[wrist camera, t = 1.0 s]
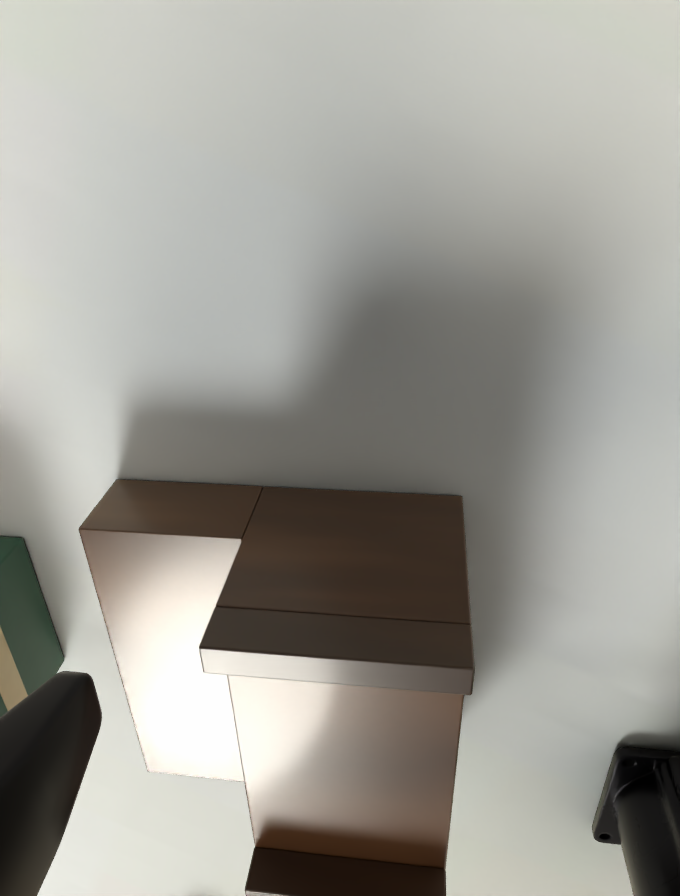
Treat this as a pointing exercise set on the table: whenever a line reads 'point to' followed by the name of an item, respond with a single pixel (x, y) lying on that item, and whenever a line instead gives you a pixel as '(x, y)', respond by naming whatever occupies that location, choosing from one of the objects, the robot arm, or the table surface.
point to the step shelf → (298, 666)
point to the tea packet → (23, 628)
